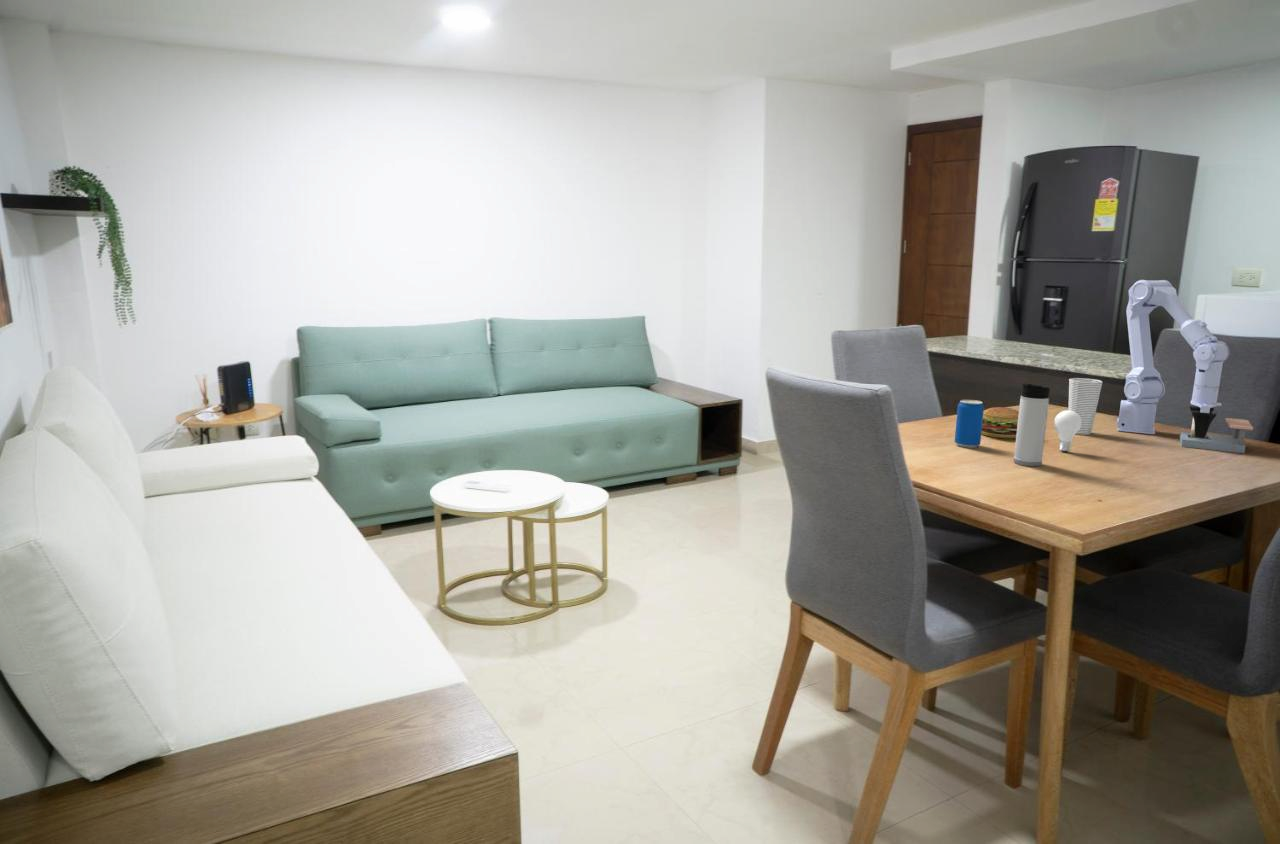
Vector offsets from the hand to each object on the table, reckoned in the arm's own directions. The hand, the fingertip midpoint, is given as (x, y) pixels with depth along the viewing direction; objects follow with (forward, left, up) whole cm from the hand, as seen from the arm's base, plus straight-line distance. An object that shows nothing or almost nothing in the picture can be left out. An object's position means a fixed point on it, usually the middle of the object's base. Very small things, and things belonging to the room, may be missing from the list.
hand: (1198, 434), depth 229 cm
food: (-48, -19, -3) cm, 52 cm away
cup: (-29, -2, -3) cm, 29 cm away
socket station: (+3, 0, -3) cm, 4 cm away
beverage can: (-54, -39, -3) cm, 67 cm away
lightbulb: (-31, -32, -3) cm, 45 cm away
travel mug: (-38, -52, -3) cm, 64 cm away
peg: (0, 0, -3) cm, 3 cm away
